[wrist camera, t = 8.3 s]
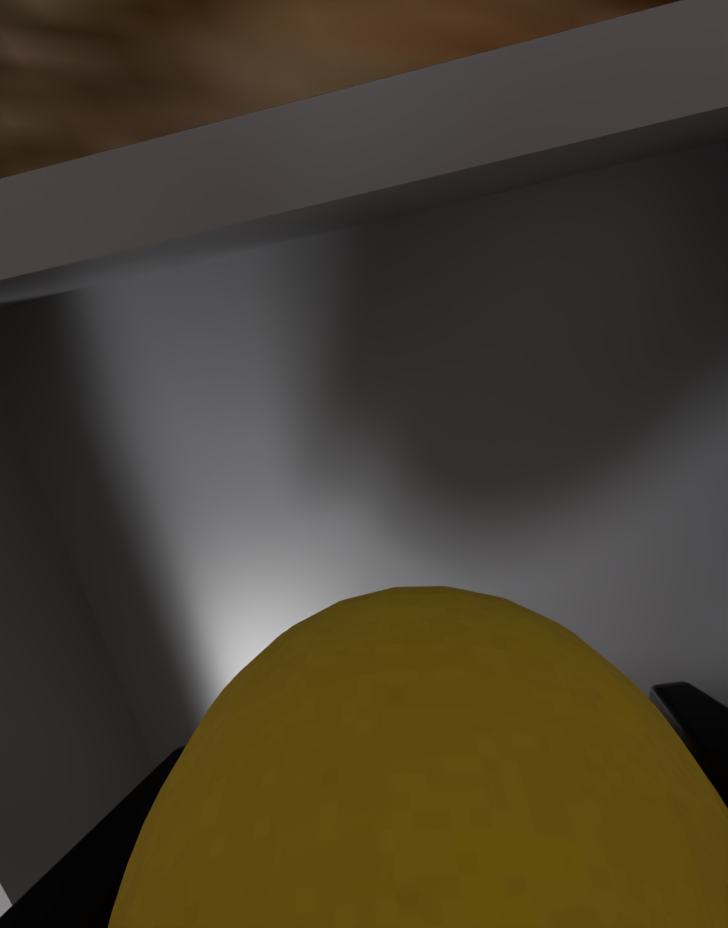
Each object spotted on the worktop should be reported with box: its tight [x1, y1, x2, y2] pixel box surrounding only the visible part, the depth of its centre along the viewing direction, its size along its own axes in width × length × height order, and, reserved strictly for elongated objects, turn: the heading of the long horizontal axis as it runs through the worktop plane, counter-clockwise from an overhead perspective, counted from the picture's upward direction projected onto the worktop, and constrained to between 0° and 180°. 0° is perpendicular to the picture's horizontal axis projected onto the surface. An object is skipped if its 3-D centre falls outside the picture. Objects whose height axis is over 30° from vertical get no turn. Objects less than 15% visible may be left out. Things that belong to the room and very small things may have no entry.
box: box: [0, 0, 728, 917], centre depth 9 cm, size 14×14×4 cm
